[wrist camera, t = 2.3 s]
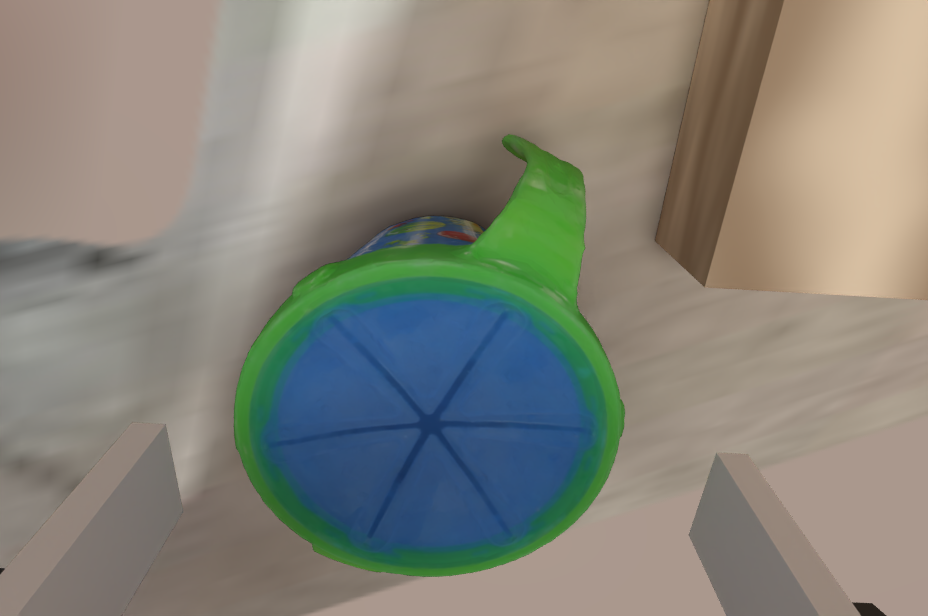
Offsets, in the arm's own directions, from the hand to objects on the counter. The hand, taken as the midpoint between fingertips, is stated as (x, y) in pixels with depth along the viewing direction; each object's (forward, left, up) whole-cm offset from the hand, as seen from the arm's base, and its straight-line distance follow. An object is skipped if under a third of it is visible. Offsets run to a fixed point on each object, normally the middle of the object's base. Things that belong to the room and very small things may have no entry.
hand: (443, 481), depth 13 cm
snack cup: (0, 0, -12) cm, 12 cm away
